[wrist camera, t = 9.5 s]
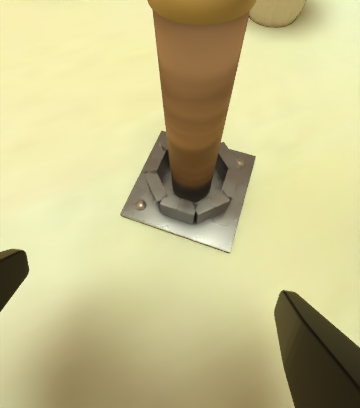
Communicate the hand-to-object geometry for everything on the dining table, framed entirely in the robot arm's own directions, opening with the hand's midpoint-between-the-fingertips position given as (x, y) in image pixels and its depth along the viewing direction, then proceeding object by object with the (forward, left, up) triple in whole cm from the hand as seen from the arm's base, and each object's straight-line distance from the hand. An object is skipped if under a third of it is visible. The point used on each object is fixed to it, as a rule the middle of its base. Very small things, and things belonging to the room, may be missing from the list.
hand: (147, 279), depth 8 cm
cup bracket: (+1, -9, -11) cm, 14 cm away
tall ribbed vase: (+1, -9, -10) cm, 14 cm away
